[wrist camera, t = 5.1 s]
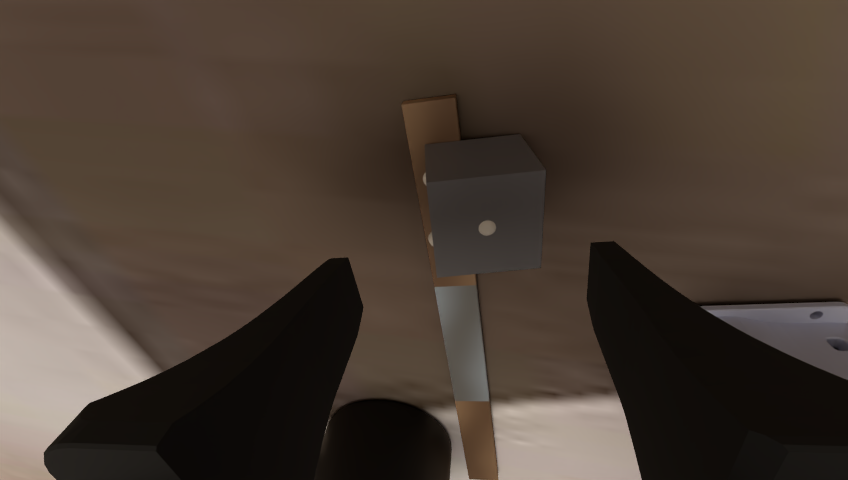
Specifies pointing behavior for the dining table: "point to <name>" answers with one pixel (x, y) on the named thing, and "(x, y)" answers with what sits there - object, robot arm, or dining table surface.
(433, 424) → the mug
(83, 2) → the dining table surface
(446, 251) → the die
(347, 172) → the dining table surface
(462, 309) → the wooden stick
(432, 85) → the dining table surface
